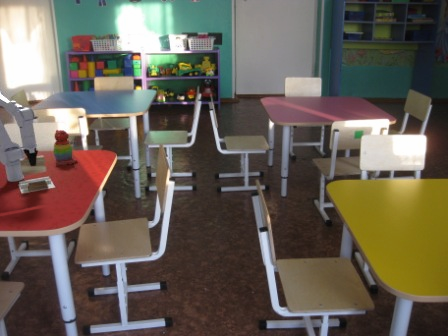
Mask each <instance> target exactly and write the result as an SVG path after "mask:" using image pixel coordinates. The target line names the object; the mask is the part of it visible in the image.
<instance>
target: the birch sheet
mask: <svg viewBox="0 0 448 336" xmlns="http://www.w3.org/2000/svg"><path fill="white" fill-rule="evenodd" d="M20 164H21V169H22V174H23V175H24V176H28V175H34V174H41V173H46V172H47V166H46V161H45V156H44V155H43V154H42V155H37V157H36V166H31V165H30V163H29V160H28V158H27V157H24V158H23V159H20Z"/></svg>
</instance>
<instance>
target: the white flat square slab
mask: <svg viewBox="0 0 448 336" xmlns="http://www.w3.org/2000/svg"><path fill="white" fill-rule="evenodd" d="M44 180H45V181H46V183H47V185H48V188H47V189H46V190H49V189H54V188H56V186H55V185H54V182H53V181H52V179H51V178H50V176H44V177H38V178H33V179H27V180H20V181H18V183H19V184H18V188H19V189H20V190H19V191H20V192H21V194H22V195H23V194H26V193H27V194H28V193H31V192H32V193H34V192H39V191H40V190H36V191H31V192H29V191H28V186H29V185H28V183H32V182H38V181H44ZM41 191H45V189H42V190H41Z"/></svg>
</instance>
